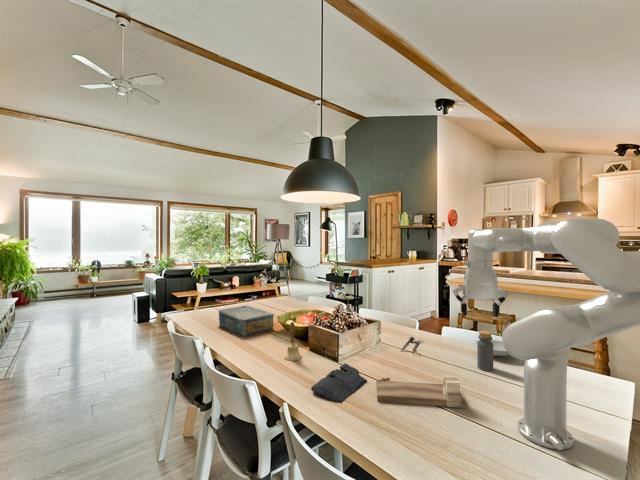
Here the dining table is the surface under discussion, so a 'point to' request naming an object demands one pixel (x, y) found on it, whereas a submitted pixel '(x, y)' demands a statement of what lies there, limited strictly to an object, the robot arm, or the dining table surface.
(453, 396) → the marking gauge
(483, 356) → the bottle
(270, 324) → the metal box
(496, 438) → the dining table surface
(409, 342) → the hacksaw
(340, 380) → the dark slate chunk
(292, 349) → the hand bell
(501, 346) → the dish
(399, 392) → the walnut board
